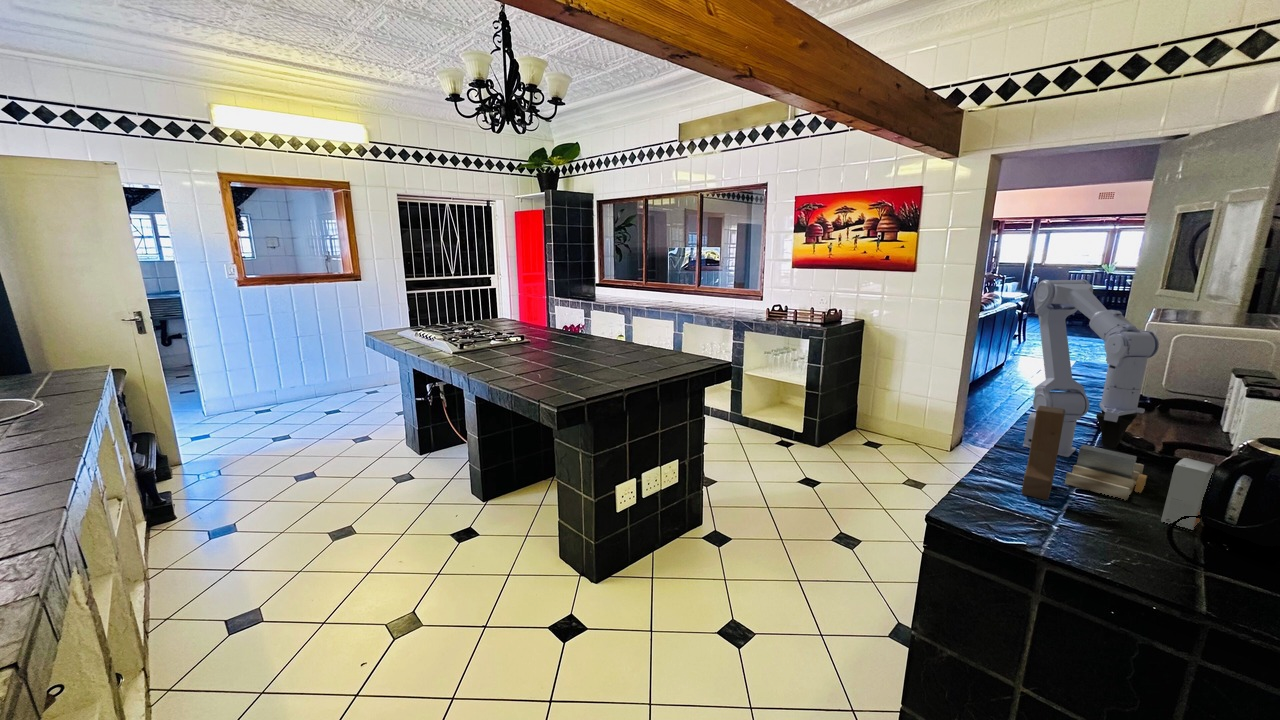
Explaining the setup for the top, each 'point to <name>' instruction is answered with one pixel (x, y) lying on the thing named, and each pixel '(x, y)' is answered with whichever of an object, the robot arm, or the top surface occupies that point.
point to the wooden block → (1043, 452)
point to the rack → (1107, 481)
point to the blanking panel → (1106, 461)
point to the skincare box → (1187, 492)
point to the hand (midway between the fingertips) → (1110, 444)
